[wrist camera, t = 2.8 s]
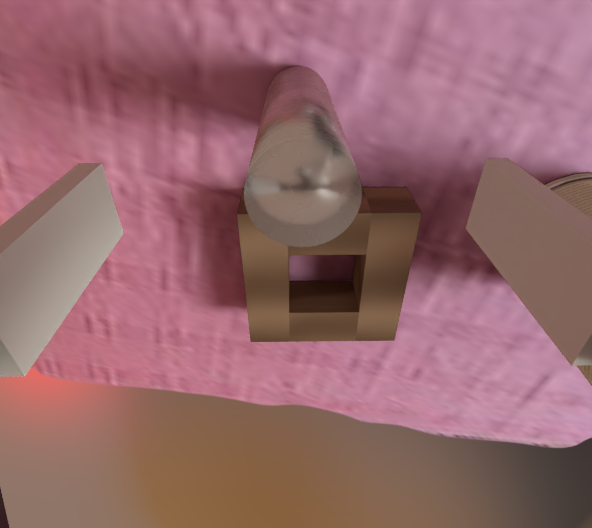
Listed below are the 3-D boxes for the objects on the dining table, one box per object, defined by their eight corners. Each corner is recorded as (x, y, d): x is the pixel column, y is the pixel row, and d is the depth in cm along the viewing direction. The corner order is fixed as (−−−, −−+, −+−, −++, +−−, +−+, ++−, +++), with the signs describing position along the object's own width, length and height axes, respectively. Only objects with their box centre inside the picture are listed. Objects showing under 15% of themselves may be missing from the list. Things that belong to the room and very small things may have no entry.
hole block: (243, 188, 28) (236, 214, 24) (406, 186, 28) (421, 212, 24) (254, 309, 35) (250, 341, 31) (384, 307, 35) (394, 340, 32)
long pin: (264, 66, 23) (238, 139, 12) (330, 65, 23) (368, 138, 12) (268, 132, 25) (248, 247, 14) (327, 132, 25) (356, 246, 14)
